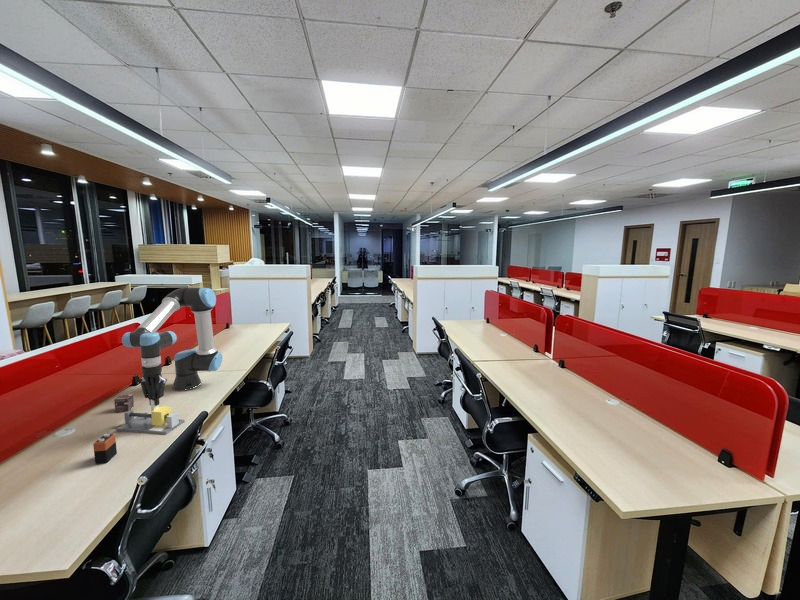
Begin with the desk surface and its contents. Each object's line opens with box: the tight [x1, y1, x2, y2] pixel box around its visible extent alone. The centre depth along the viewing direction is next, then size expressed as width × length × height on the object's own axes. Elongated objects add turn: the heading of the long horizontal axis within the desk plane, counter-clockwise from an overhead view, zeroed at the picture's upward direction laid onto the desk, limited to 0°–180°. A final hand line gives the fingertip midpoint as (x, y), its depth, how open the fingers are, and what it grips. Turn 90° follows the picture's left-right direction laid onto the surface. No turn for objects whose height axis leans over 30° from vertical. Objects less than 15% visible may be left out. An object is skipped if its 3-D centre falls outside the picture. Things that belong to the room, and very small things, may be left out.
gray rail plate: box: [116, 409, 185, 436], centre depth 161 cm, size 12×25×7 cm, turn 85°
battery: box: [92, 432, 118, 465], centre depth 135 cm, size 4×7×10 cm, turn 13°
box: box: [114, 394, 135, 413], centre depth 177 cm, size 6×6×7 cm
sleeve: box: [150, 405, 172, 426], centre depth 160 cm, size 6×5×7 cm
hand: (155, 411), depth 160 cm, fingers closed
